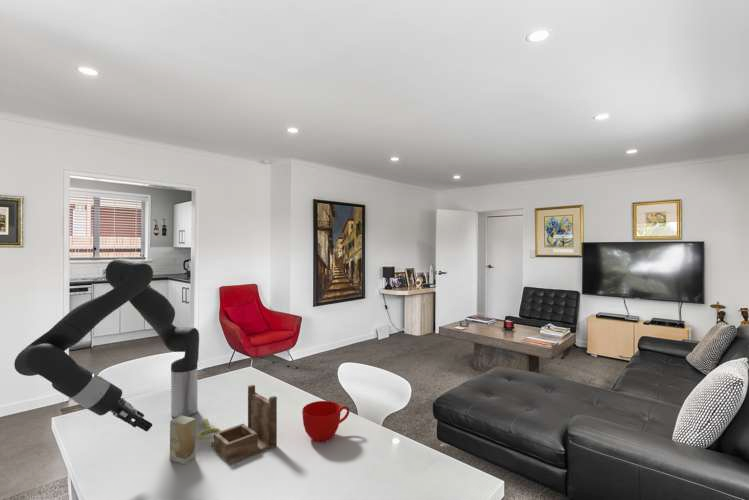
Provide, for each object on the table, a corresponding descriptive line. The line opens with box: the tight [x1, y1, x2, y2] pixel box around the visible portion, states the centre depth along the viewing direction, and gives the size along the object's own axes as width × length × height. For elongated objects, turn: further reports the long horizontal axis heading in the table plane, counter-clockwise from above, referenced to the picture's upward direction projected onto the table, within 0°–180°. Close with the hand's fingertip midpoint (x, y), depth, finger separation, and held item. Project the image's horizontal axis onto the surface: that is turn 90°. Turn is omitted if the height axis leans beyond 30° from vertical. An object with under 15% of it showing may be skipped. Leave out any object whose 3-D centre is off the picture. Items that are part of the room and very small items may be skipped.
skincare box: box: [169, 415, 197, 465], centre depth 117 cm, size 6×4×12 cm
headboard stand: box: [210, 384, 278, 465], centre depth 125 cm, size 17×15×16 cm
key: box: [197, 418, 222, 440], centre depth 135 cm, size 7×12×2 cm, turn 48°
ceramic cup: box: [301, 400, 350, 443], centre depth 131 cm, size 13×17×10 cm
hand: (145, 422), depth 110 cm, fingers open, 8 cm apart
